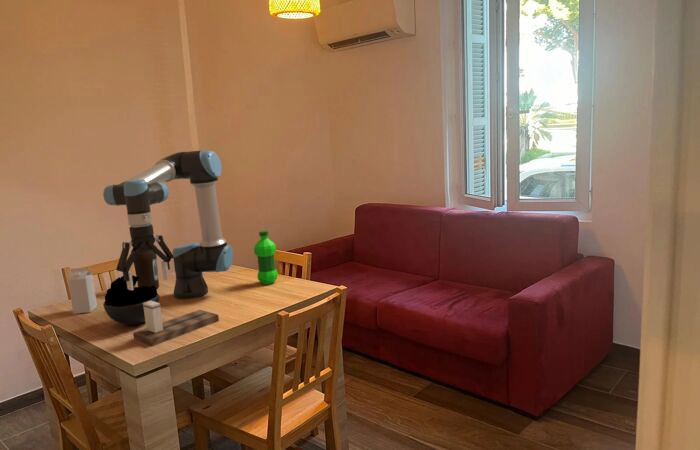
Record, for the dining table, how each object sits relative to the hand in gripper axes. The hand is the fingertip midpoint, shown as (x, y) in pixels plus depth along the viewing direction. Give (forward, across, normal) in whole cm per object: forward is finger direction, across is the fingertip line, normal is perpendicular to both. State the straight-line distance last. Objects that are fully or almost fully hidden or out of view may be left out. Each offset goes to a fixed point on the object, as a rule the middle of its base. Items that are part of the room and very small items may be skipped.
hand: (149, 284), depth 181 cm
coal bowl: (+20, +4, +22) cm, 30 cm away
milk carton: (+20, +1, +58) cm, 61 cm away
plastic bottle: (+21, +69, +17) cm, 74 cm away
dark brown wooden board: (+20, +9, 0) cm, 22 cm away
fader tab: (+17, 0, 0) cm, 17 cm away
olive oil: (+21, +34, +64) cm, 75 cm away
